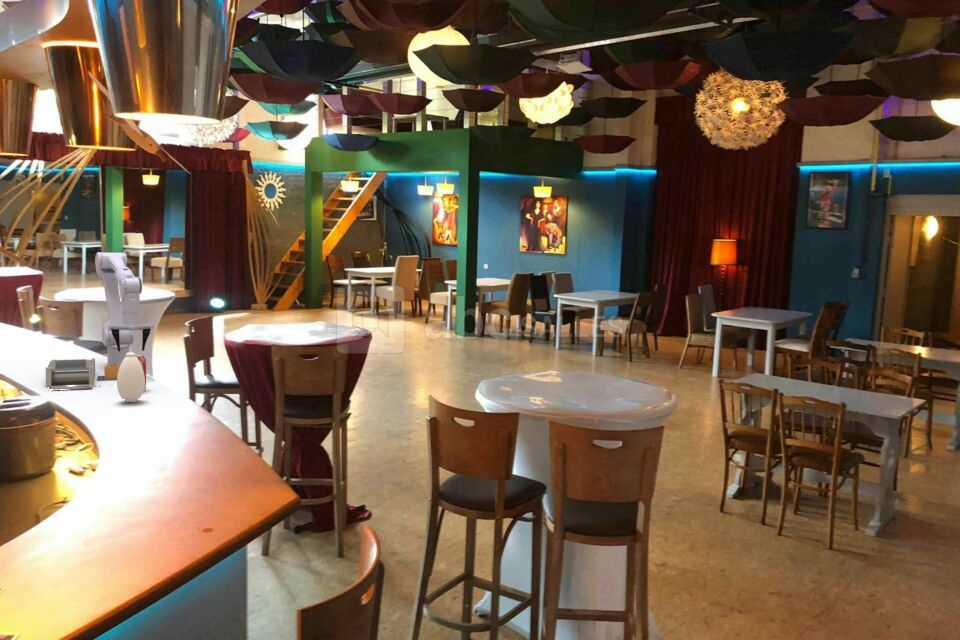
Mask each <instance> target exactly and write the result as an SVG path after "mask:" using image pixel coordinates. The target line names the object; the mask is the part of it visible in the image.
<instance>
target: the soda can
mask: <svg viewBox="0 0 960 640" xmlns="http://www.w3.org/2000/svg"><path fill="white" fill-rule="evenodd" d="M134 353H135V356H136V357H137V358H138V360H139V361H140V363H141V366H142V368H143V371H144V376H145V387H144V390H146V389H147V360H146V358H145V355H144V354H143V353H136V352H134ZM125 357H126V355H125ZM125 357H124V358H125Z"/></svg>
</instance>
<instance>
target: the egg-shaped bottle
mask: <svg viewBox="0 0 960 640" xmlns="http://www.w3.org/2000/svg"><path fill="white" fill-rule="evenodd" d="M129 349H130V353H127V354H126V357H125V358H124V359H123V361H122V363H121V365H120V368H119V371H118V375H117V380H116V386H117V392H118V395H119V396H120V398H121V399H122V400H124V401H125V402H127V403H128V402H134V403H135V402H137V401H138V400H139V399H140V398H141V397H142V395H143V394H144V392H145V389H144V387H145V376H144V371H143V368H142V366H141V363H140V361H139V360H138V358H137V357H136V356H135V353H136V352H132V351H133V350H132V345H130V347H129Z"/></svg>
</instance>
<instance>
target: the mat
mask: <svg viewBox="0 0 960 640" xmlns="http://www.w3.org/2000/svg"><path fill="white" fill-rule="evenodd" d="M106 381H107V382H108V381H113V382H114V381H117V379H105V378H104V375H97V377H96V382H106Z"/></svg>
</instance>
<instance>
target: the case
mask: <svg viewBox="0 0 960 640" xmlns="http://www.w3.org/2000/svg"><path fill="white" fill-rule="evenodd" d="M55 360H56V359H52V360H51V361H55ZM91 360H95V362H94V366H89V370H78V371H51V367H48V366H46V367H45V388H46V387H47V388H48V387H49V386H53V385H54V384H76V383H77V384H78V383H80V384H81V383H88V384H92V385H93V388H95V376H96V357H95V358H91Z"/></svg>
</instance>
